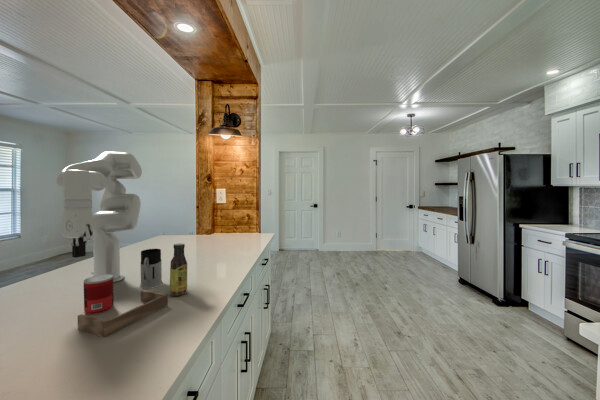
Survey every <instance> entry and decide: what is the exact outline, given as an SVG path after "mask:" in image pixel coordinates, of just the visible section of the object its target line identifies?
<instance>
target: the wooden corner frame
mask: <svg viewBox="0 0 600 400" xmlns="http://www.w3.org/2000/svg"><path fill="white" fill-rule="evenodd" d="M168 296H169V295H168V294H167V293H162V292H156V291H152V290H146V289H142V290H140V302H142V304H141V305H138V306H136V307H134V308H131V309H130V310H128V311H125V312H123V313H121V314H118V315H116V316H115V317H112V318H109V319H107V320H104V319H101V318H97V317H93V316H91V315H90V316H89V315H87V314H86V315H85V314H79V315H77V330H80V331H83V332H86V333H89V334H93V335H96V336H99V337H103V338H106V337H109V336H110V335H112V334H115V333H117V332H118V331H120V330H122V329H124V328H126V327H129V326H130V325H133V324H135V323H136V322H138V321H140V320H142V319H144V318H146V317H148V316H150V315H152V314H154V313H156V312H158V311H159V310H160V311H161V310H162V309H163V308H165V307H168V306H169V304H168V302H169V301H168V300H169V297H168Z"/></svg>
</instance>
